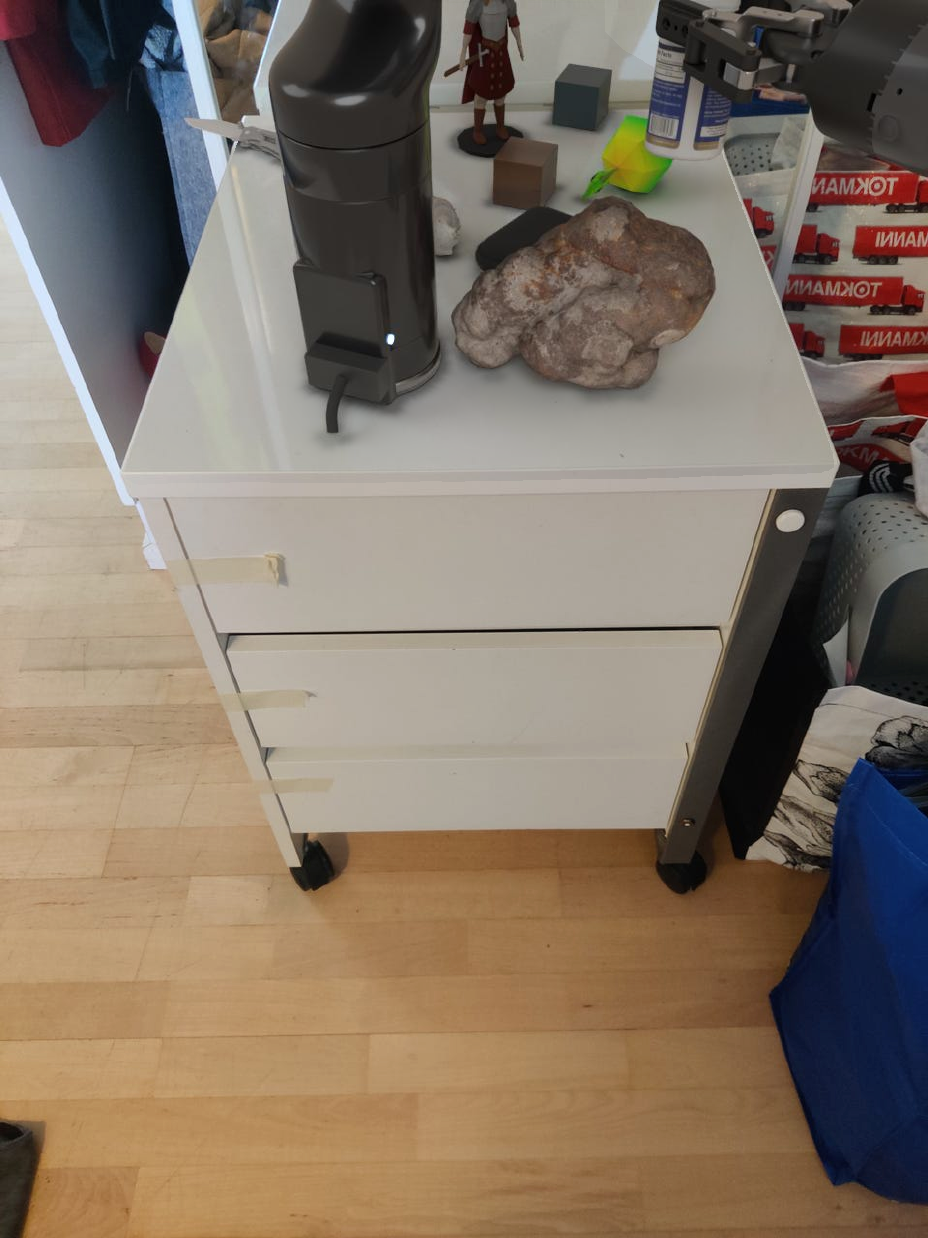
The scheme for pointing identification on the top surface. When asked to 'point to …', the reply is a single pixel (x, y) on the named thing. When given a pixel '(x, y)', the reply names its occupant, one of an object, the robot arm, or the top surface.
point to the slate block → (581, 96)
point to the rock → (590, 298)
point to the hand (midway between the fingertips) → (694, 2)
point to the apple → (629, 160)
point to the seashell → (445, 226)
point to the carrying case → (518, 235)
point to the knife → (239, 134)
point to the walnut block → (524, 173)
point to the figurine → (487, 72)
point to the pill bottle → (686, 105)
